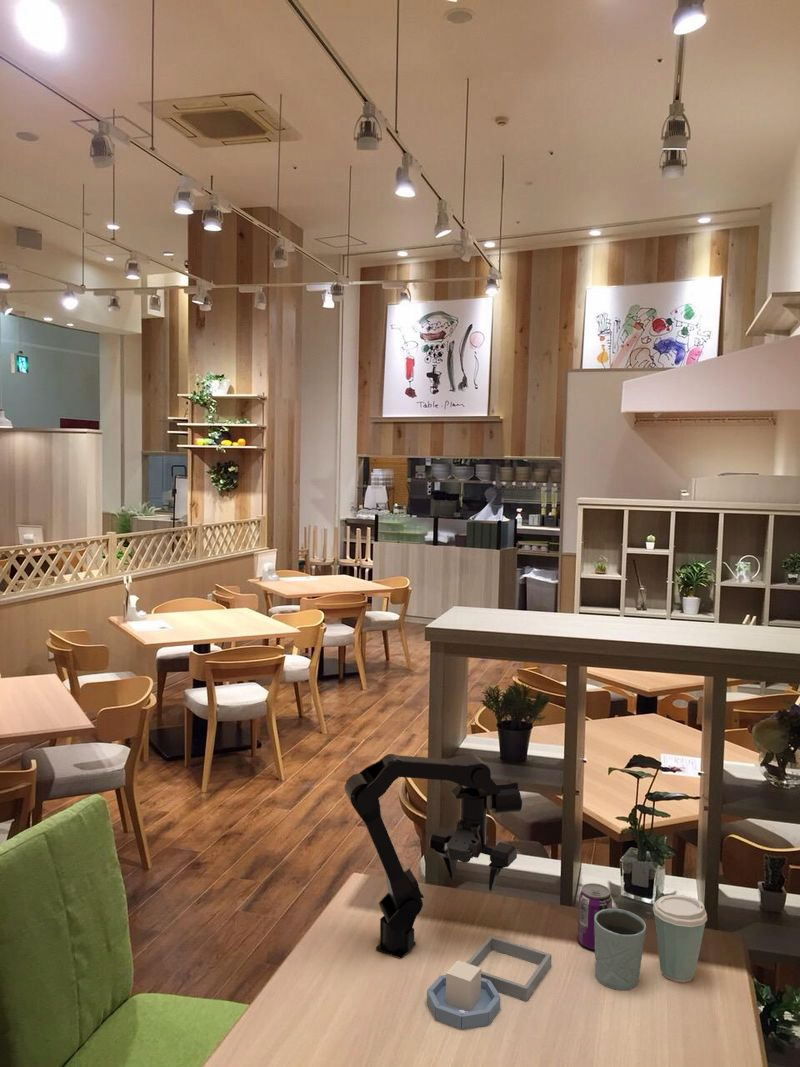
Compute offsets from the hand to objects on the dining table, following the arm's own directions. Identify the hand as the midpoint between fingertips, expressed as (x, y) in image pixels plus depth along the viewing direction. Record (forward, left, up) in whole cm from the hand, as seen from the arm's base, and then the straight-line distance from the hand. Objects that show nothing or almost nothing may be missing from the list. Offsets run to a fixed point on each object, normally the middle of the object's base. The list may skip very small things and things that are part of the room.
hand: (471, 884), depth 184 cm
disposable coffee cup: (+42, +10, -12) cm, 45 cm away
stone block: (+9, -22, -11) cm, 26 cm away
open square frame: (+12, -8, -12) cm, 19 cm away
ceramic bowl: (+9, -22, -12) cm, 27 cm away
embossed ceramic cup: (+32, +2, -12) cm, 34 cm away
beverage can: (+24, +12, -12) cm, 29 cm away
